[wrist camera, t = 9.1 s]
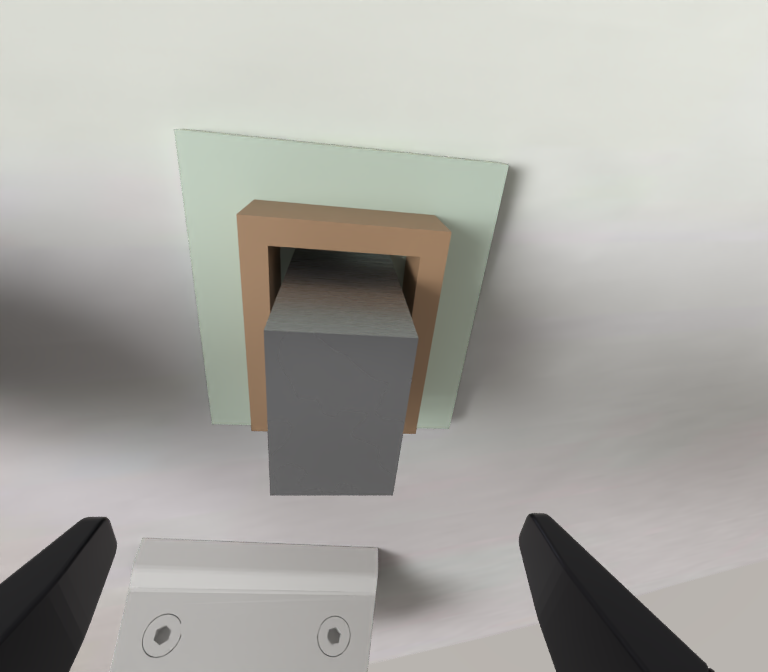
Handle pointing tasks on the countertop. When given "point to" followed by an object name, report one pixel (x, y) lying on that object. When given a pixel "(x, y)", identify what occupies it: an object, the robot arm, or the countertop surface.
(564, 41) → the countertop surface
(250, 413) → the post socket
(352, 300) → the brushed grey metal block
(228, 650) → the hinge
